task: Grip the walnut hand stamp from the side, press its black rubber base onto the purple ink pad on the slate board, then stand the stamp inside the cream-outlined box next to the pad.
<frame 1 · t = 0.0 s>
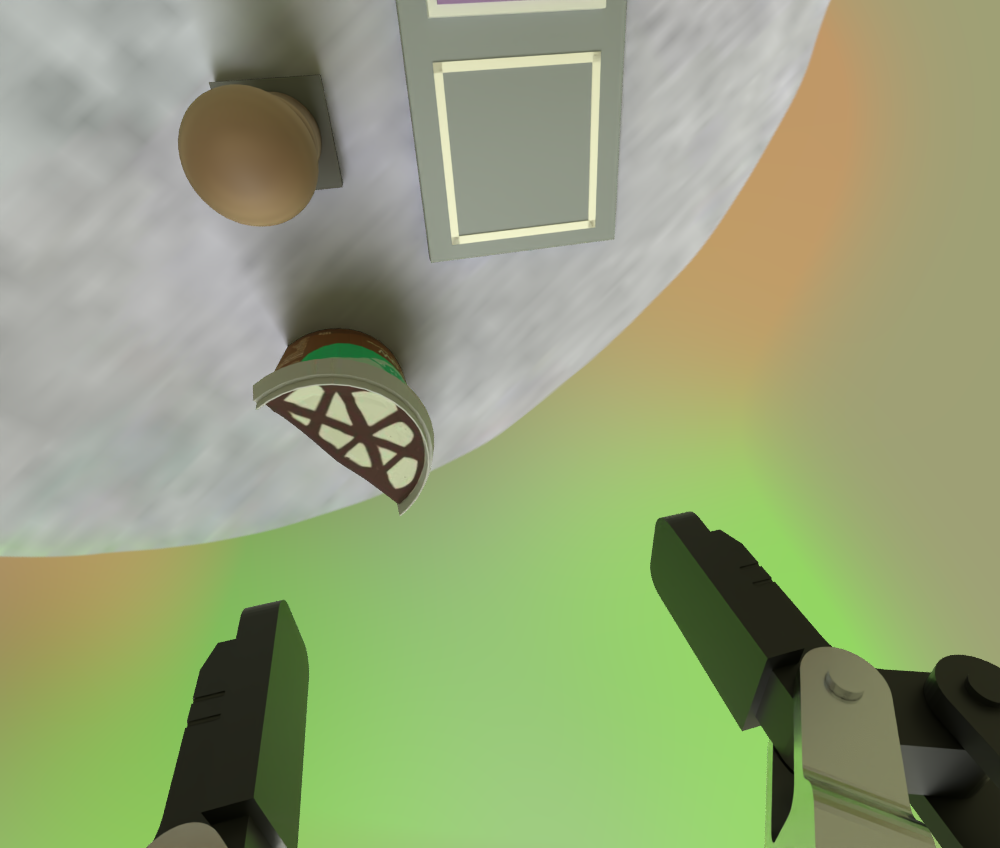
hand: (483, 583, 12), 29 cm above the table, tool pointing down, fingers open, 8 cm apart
stamp: (282, 136, 31), on the table
stamping board: (513, 36, 31), on the table
food container: (367, 362, 40), on the table
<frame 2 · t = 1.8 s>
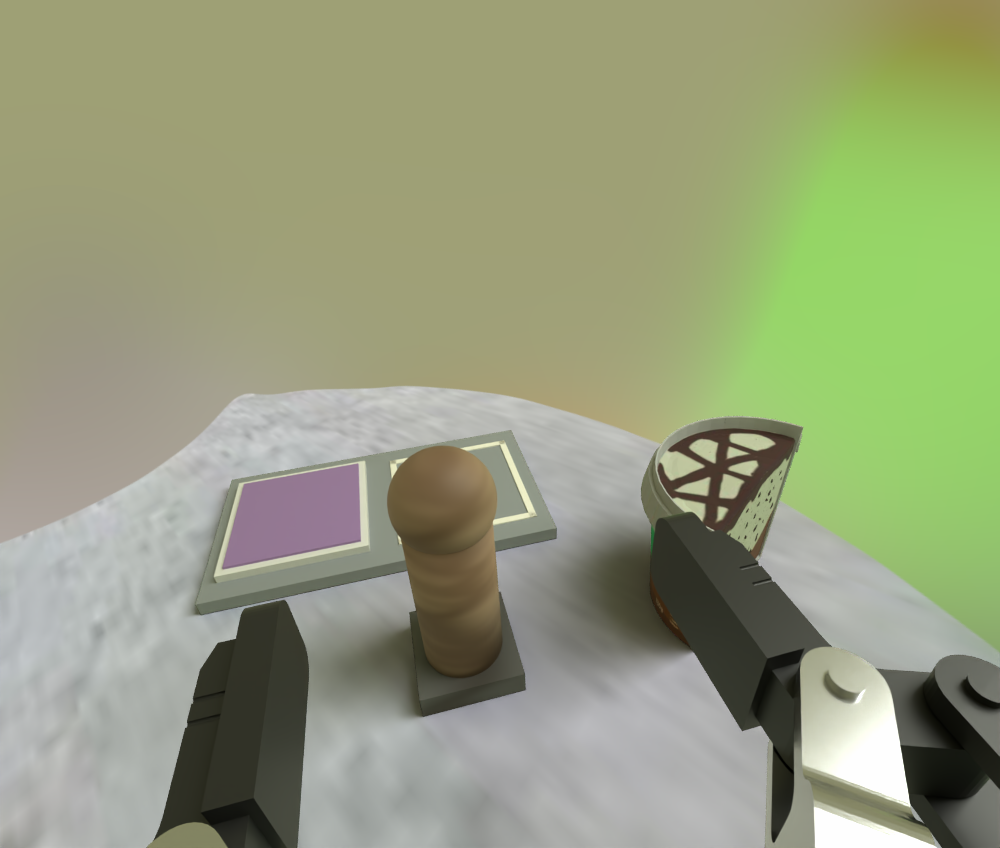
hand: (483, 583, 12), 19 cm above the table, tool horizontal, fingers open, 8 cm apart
stamp: (465, 657, 31), on the table
stamping board: (383, 511, 42), on the table
food container: (684, 577, 35), on the table
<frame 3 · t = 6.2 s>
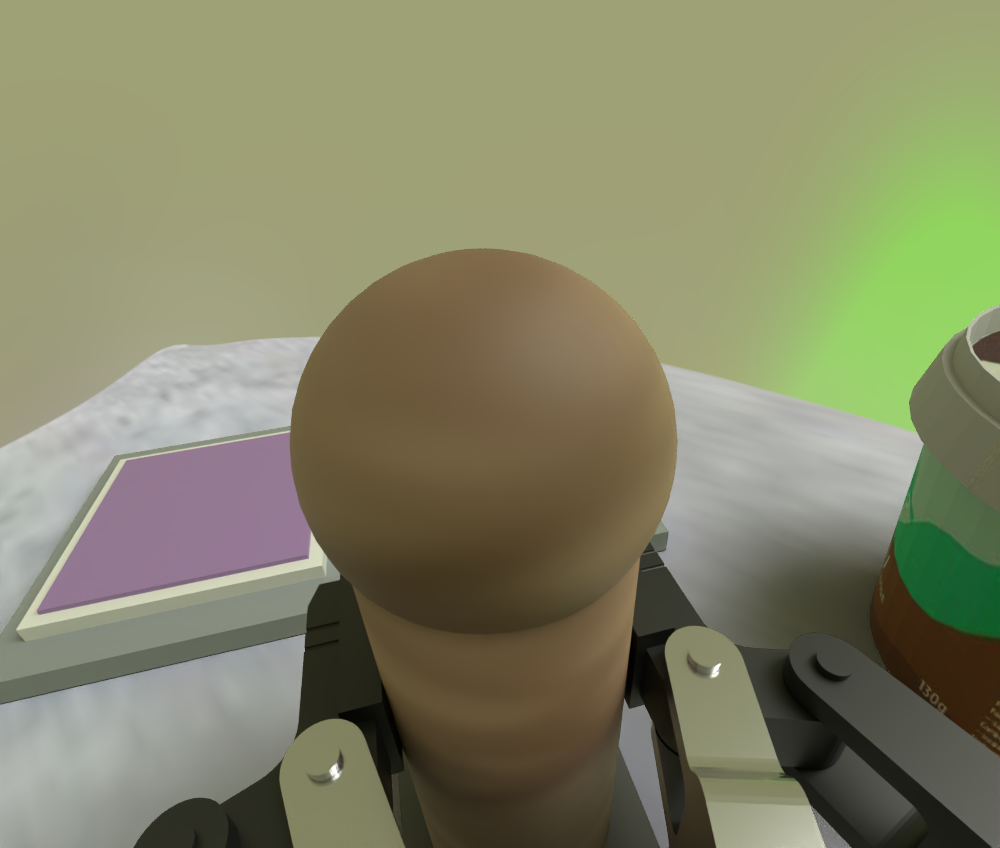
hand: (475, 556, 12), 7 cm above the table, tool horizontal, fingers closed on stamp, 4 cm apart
stamp: (520, 822, 14), on the table, touching gripper
stamping board: (357, 505, 25), on the table
food container: (936, 626, 18), on the table
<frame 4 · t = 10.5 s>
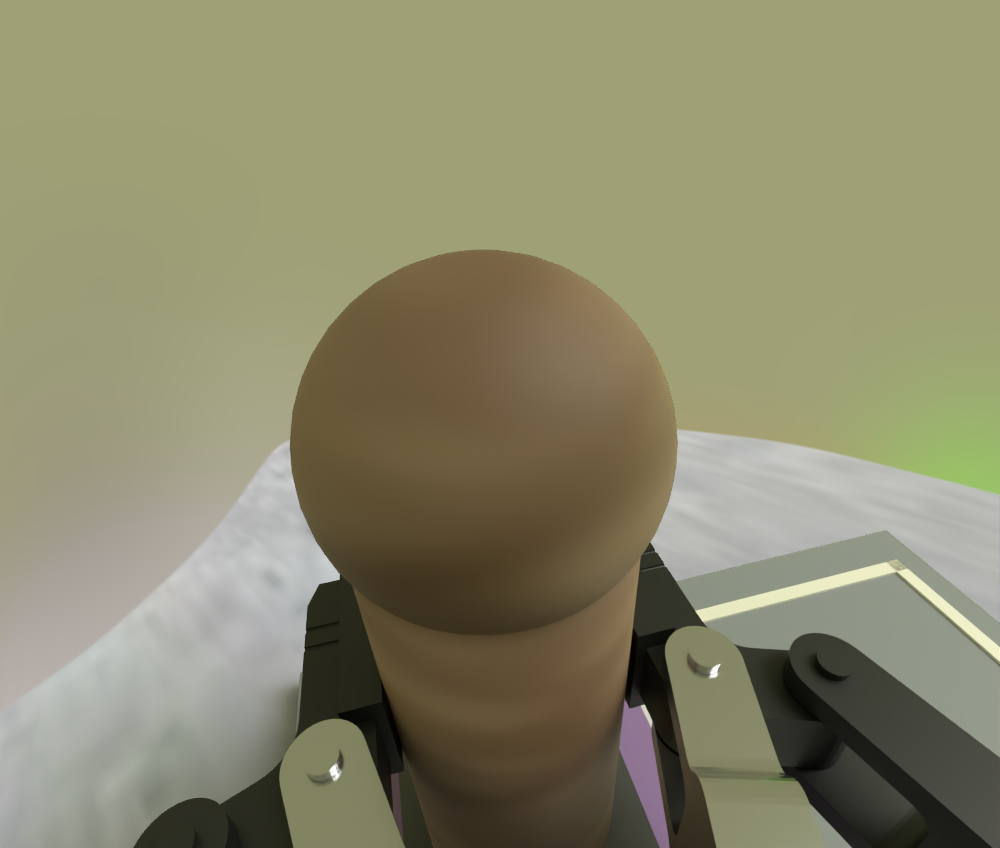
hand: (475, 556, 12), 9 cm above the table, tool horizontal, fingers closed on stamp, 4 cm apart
stamp: (520, 825, 14), point 2 cm above the table, touching gripper, stamping board
stamping board: (711, 787, 16), on the table
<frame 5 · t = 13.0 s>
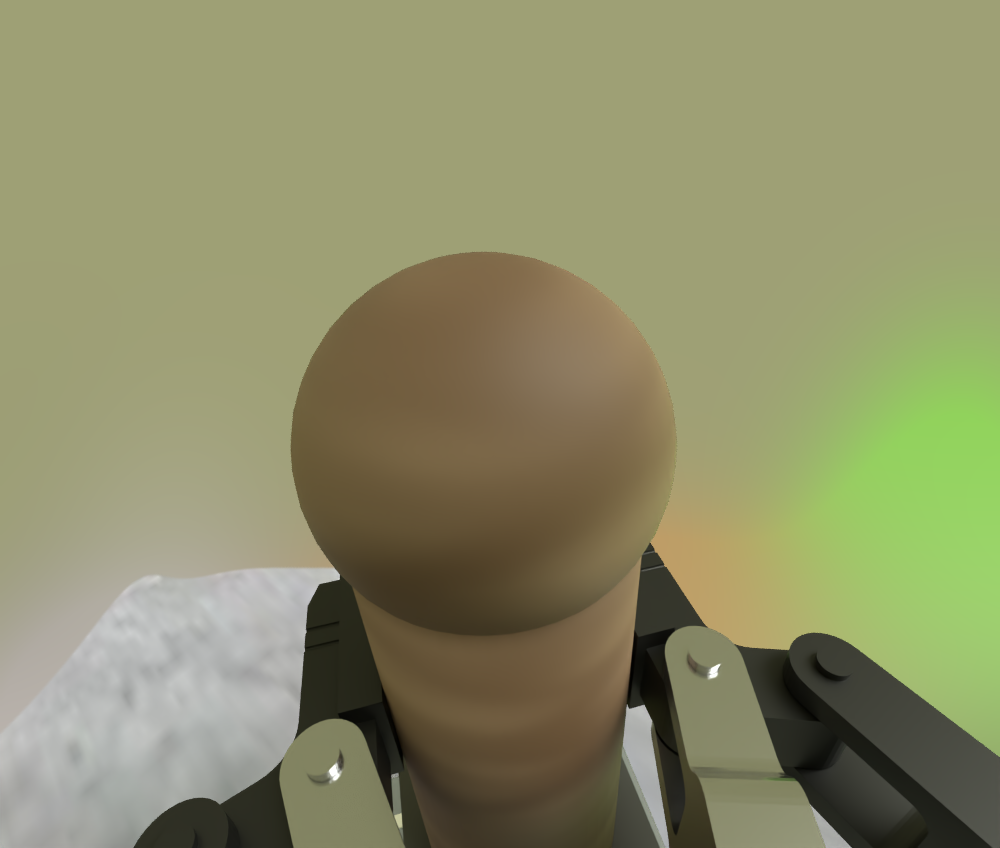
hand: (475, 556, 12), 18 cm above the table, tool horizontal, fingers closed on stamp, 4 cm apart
stamp: (523, 835, 14), point 11 cm above the table, touching gripper
when the fingers open (9 cm above the table, at t = 15.0 s): stamp stays where it is, resting on stamping board.
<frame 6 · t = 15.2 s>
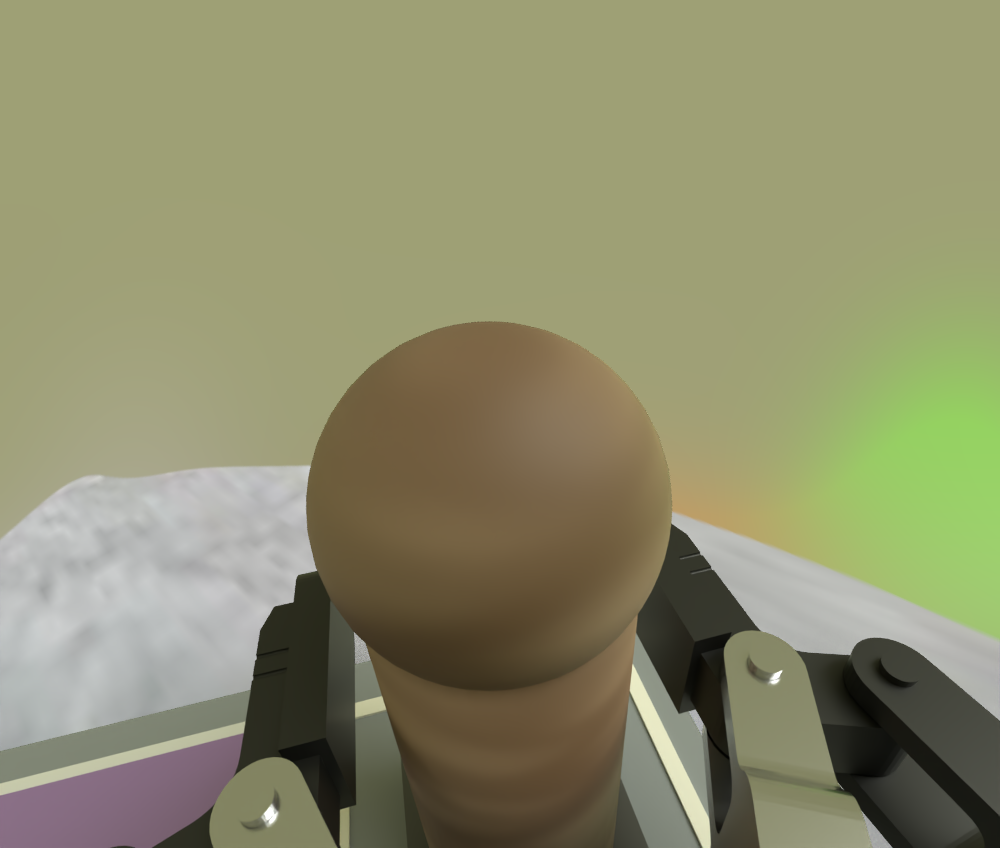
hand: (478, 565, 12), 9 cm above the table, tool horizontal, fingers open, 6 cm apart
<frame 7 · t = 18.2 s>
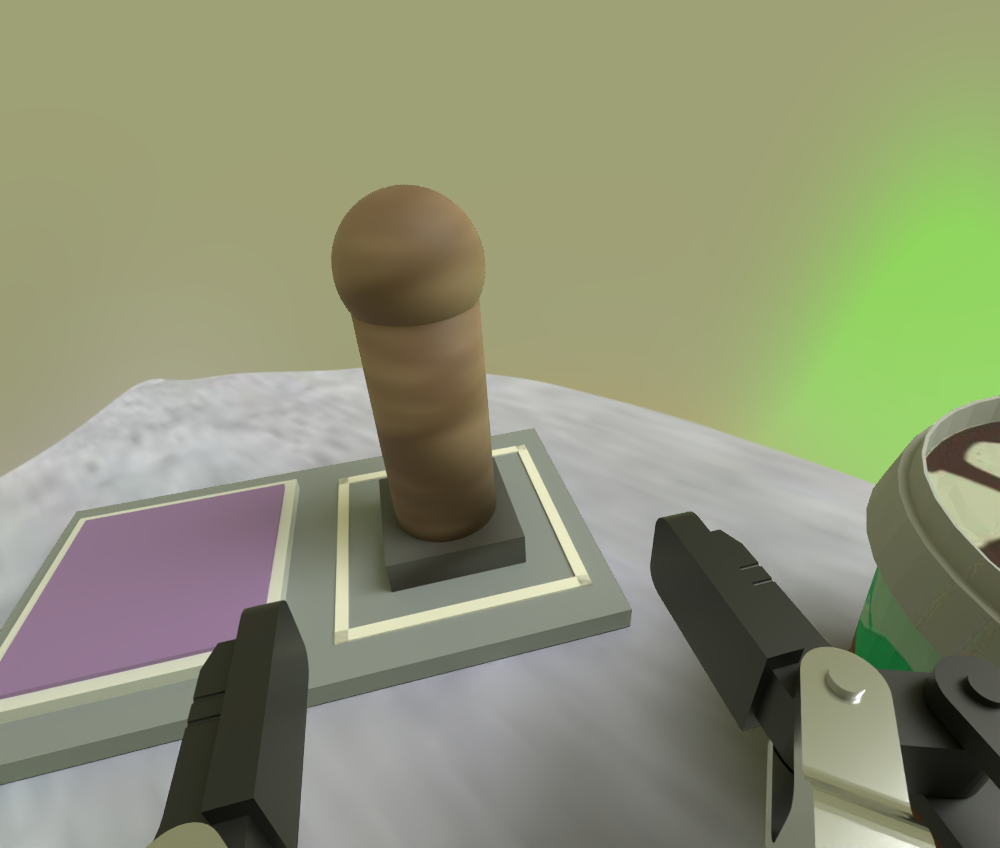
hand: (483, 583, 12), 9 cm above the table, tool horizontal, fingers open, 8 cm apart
stamp: (449, 530, 24), point 1 cm above the table, touching stamping board
stamping board: (319, 569, 24), on the table
food container: (901, 719, 18), on the table
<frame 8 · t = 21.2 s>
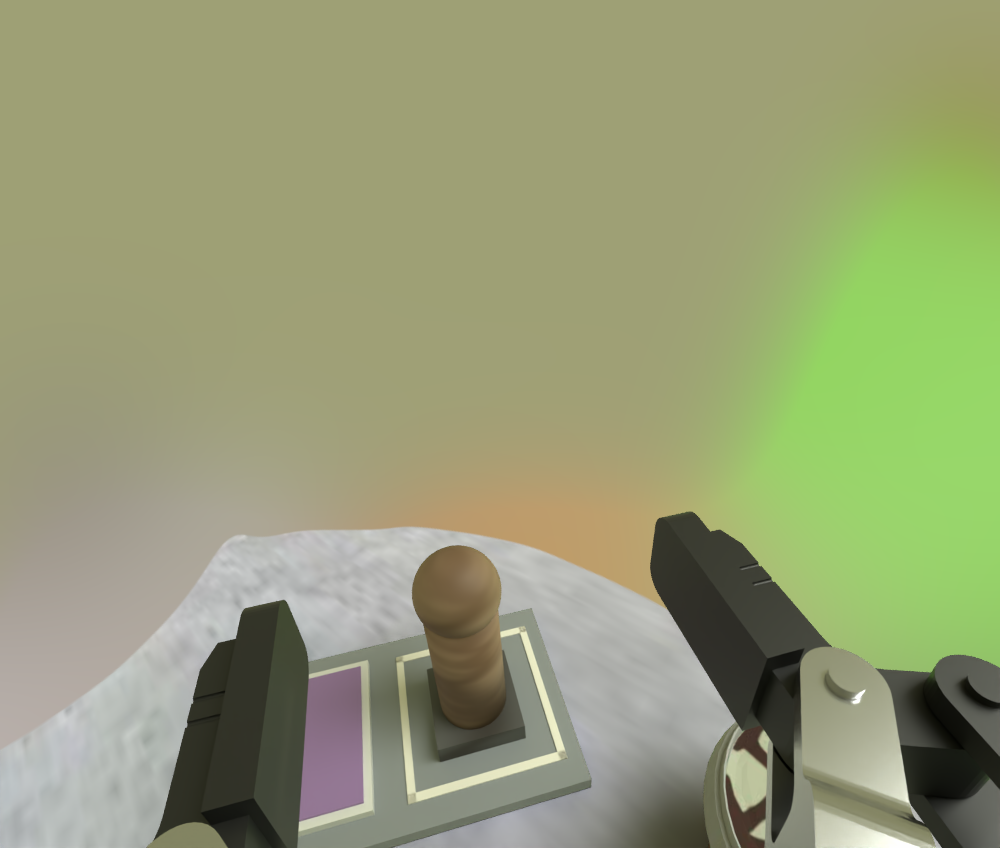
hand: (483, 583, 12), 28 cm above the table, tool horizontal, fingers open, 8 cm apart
stamp: (475, 708, 37), point 1 cm above the table, touching stamping board
stamping board: (389, 734, 37), on the table
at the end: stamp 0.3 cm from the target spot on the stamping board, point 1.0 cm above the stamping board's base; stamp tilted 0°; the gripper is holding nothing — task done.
